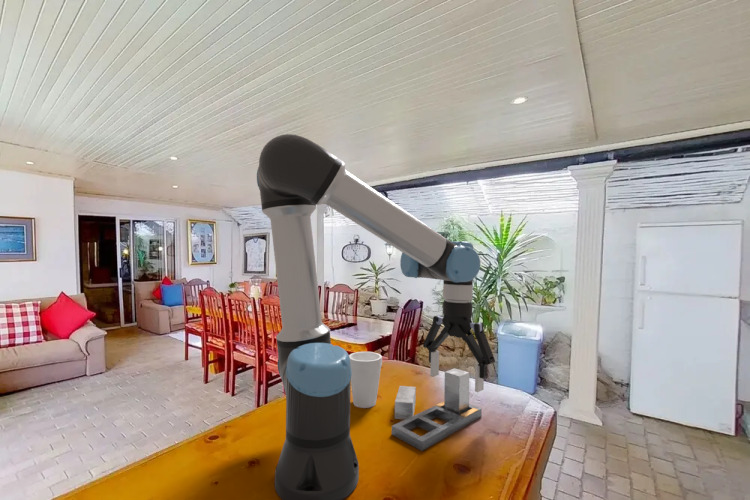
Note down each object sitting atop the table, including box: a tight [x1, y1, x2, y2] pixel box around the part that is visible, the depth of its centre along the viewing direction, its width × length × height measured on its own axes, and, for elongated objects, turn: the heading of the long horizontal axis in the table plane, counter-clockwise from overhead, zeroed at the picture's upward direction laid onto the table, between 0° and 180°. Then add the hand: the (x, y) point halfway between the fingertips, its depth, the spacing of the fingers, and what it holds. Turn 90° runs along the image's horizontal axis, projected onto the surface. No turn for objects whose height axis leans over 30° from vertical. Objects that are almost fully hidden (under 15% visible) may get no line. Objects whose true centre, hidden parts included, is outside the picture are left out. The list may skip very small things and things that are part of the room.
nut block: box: [394, 385, 417, 421], centre depth 92 cm, size 11×4×4 cm, turn 169°
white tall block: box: [444, 368, 470, 415], centre depth 89 cm, size 4×4×11 cm
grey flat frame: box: [391, 401, 482, 452], centre depth 84 cm, size 24×9×2 cm, turn 133°
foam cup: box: [348, 351, 383, 409], centre depth 96 cm, size 10×9×13 cm
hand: (455, 382), depth 89 cm, fingers open, 13 cm apart
